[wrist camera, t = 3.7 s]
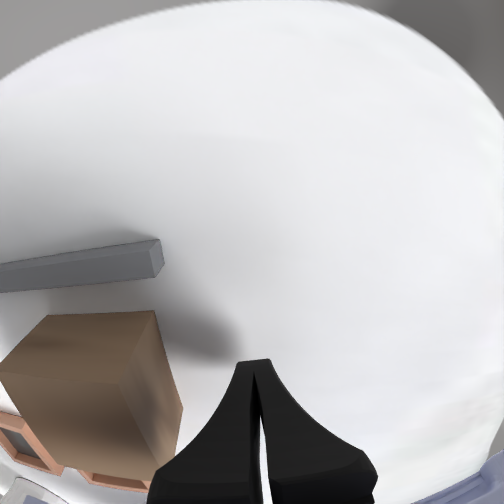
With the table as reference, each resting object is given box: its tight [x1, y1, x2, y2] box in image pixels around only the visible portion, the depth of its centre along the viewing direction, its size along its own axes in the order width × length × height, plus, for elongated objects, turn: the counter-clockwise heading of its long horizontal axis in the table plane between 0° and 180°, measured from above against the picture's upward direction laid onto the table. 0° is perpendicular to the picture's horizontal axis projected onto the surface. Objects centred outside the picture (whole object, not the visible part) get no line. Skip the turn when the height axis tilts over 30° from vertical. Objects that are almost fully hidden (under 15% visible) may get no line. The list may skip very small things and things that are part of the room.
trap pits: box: [0, 412, 151, 493], centre depth 15 cm, size 6×15×1 cm, turn 96°
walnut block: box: [0, 310, 183, 481], centre depth 11 cm, size 6×6×5 cm
